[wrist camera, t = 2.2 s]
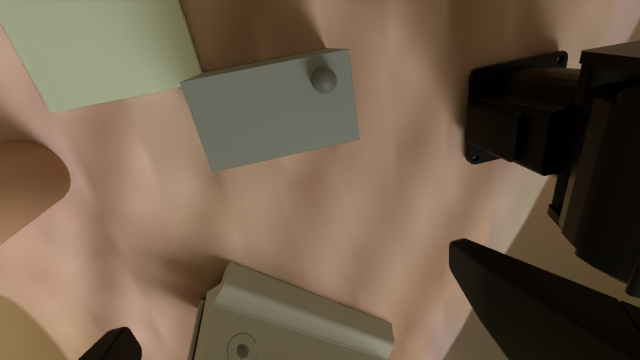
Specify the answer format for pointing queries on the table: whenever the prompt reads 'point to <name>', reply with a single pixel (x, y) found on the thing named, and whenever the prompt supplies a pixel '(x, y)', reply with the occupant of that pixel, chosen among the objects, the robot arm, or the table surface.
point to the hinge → (281, 324)
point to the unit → (273, 107)
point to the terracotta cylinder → (28, 184)
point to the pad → (100, 48)
